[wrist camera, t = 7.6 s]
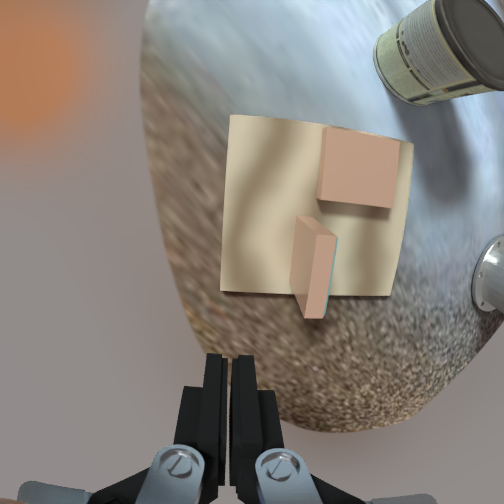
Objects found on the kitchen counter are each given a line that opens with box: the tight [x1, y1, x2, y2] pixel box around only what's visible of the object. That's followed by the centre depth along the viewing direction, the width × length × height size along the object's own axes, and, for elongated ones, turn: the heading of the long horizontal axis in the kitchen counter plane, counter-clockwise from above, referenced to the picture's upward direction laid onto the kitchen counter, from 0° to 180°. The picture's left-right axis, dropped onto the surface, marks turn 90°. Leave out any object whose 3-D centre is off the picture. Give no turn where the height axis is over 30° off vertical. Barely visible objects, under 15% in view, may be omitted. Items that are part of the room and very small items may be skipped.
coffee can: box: [373, 0, 504, 106], centre depth 19 cm, size 10×10×14 cm
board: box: [220, 115, 414, 296], centre depth 30 cm, size 20×18×1 cm
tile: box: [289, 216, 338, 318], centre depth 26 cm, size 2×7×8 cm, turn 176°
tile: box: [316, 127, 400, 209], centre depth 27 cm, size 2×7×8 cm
